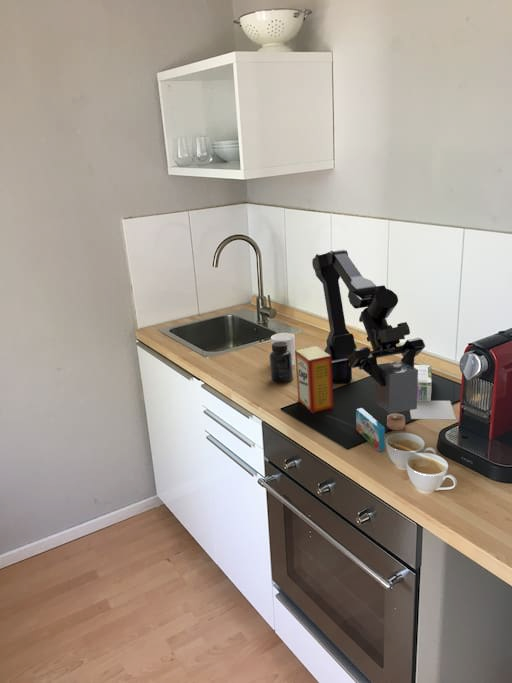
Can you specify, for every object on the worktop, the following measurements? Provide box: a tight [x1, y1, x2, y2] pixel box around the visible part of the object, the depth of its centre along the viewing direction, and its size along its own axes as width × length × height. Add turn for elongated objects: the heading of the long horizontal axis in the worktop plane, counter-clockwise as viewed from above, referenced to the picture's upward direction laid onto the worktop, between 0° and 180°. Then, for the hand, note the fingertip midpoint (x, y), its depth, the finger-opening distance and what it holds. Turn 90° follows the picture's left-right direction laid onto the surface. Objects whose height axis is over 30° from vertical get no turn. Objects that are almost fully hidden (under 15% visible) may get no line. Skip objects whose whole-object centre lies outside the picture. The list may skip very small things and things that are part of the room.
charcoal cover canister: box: [374, 360, 418, 414], centre depth 142 cm, size 7×7×11 cm
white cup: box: [270, 332, 296, 367], centre depth 192 cm, size 8×8×10 cm
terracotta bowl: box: [386, 412, 406, 431], centre depth 145 cm, size 4×4×3 cm
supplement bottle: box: [269, 342, 294, 384], centre depth 179 cm, size 7×7×12 cm
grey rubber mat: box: [409, 400, 457, 420], centre depth 152 cm, size 11×11×1 cm
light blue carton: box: [355, 407, 386, 452], centre depth 140 cm, size 12×2×6 cm, turn 17°
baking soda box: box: [295, 345, 334, 413], centre depth 160 cm, size 10×6×16 cm
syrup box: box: [414, 364, 433, 401], centre depth 163 cm, size 6×6×14 cm
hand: (398, 383), depth 140 cm, fingers closed on charcoal cover canister, 7 cm apart
